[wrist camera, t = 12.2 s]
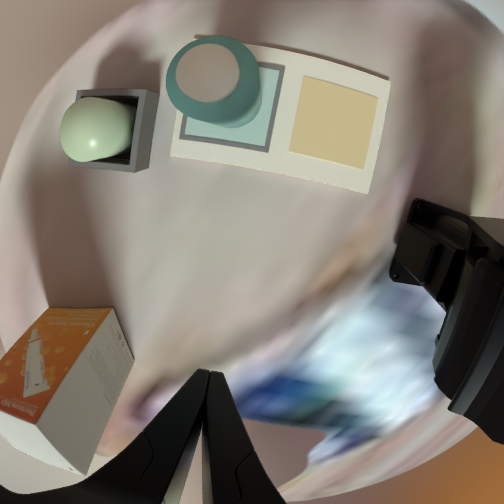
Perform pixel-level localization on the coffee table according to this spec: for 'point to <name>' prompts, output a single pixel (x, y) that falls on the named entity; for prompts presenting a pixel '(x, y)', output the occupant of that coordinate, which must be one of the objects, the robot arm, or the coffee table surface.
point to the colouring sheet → (299, 123)
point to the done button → (97, 129)
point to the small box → (63, 385)
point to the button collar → (141, 129)
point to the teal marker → (215, 82)
